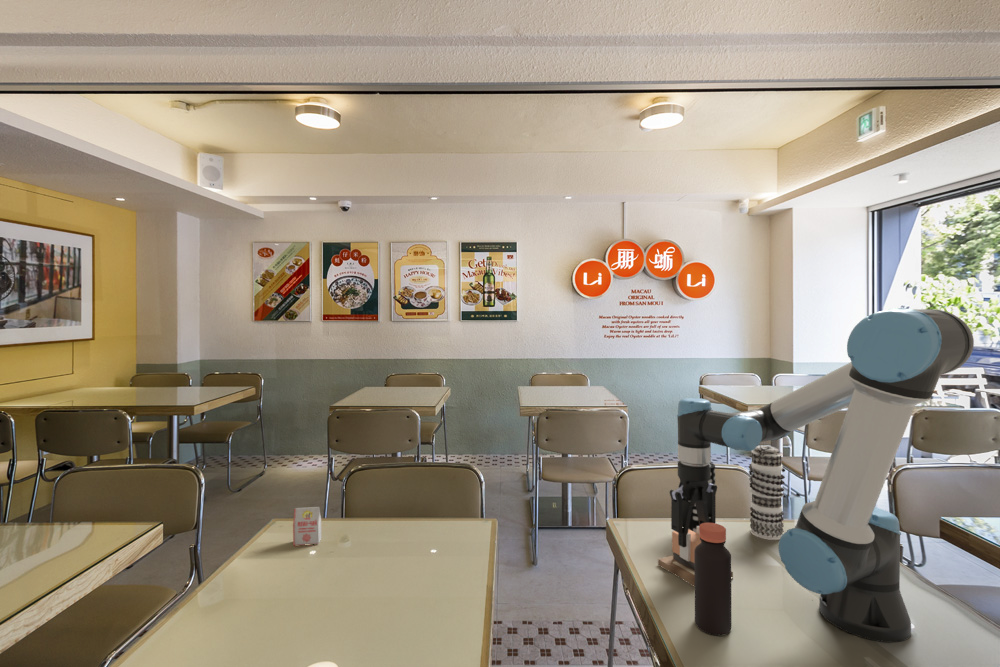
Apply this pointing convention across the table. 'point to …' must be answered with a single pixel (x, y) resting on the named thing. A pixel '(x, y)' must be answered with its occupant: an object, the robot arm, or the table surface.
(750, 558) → the table surface
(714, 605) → the bottle
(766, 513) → the decorative candle
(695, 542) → the block
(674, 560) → the pin board
